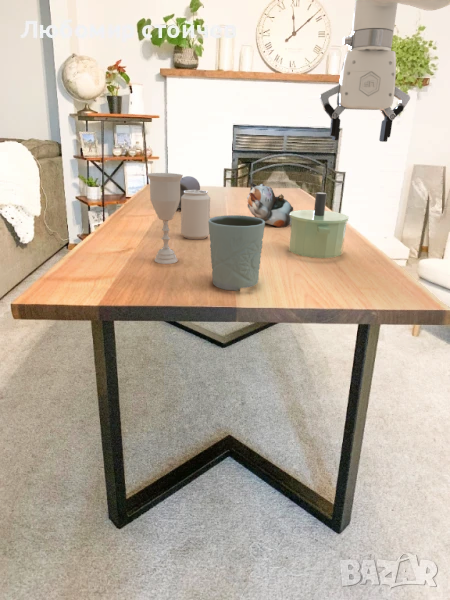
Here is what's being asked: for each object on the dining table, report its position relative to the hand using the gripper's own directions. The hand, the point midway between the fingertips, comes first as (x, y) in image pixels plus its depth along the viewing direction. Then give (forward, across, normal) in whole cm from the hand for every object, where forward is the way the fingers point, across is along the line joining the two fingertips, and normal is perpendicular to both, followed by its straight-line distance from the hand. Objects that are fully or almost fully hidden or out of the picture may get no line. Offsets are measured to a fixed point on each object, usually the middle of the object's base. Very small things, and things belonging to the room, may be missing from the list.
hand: (358, 140), depth 89 cm
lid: (+17, -5, +8) cm, 20 cm away
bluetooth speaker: (+25, -44, +66) cm, 84 cm away
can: (+25, -35, +20) cm, 48 cm away
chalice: (+26, -39, -4) cm, 47 cm away
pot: (+26, -5, +9) cm, 27 cm away
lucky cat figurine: (+25, -14, +42) cm, 51 cm away
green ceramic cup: (+26, -24, -16) cm, 39 cm away
